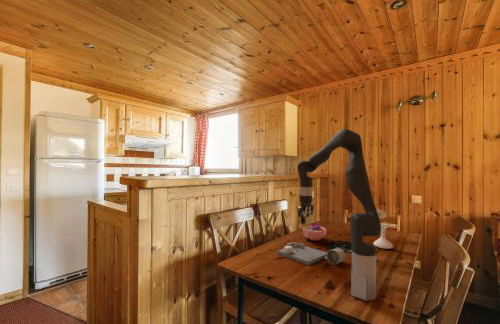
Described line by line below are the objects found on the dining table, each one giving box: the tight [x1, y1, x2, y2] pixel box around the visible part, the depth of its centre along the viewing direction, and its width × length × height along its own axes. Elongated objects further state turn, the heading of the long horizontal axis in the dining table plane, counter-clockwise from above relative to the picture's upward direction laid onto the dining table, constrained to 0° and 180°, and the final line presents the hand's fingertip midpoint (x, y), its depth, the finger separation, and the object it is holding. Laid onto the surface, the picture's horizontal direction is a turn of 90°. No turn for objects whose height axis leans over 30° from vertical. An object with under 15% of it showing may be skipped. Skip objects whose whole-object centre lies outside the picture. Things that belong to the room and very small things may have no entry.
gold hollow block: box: [298, 214, 312, 229], centre depth 145 cm, size 7×7×6 cm
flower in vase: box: [372, 208, 394, 250], centre depth 162 cm, size 13×11×25 cm
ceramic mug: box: [324, 248, 347, 265], centre depth 135 cm, size 11×8×8 cm
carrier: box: [277, 242, 327, 266], centre depth 144 cm, size 20×22×6 cm
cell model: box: [302, 222, 327, 241], centre depth 177 cm, size 17×20×11 cm
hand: (305, 222), depth 145 cm, fingers closed on gold hollow block, 4 cm apart
